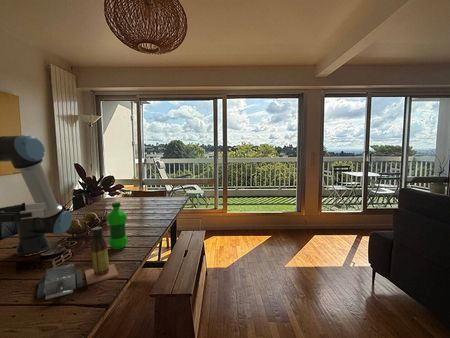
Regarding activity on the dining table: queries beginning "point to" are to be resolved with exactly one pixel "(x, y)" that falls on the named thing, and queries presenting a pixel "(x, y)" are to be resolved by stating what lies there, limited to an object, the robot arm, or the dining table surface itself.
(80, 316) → the dining table surface
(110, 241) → the plastic bottle
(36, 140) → the robot arm
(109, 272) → the terracotta tile
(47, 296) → the dark grey square frame
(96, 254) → the sauce bottle
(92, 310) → the dining table surface
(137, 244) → the dining table surface
